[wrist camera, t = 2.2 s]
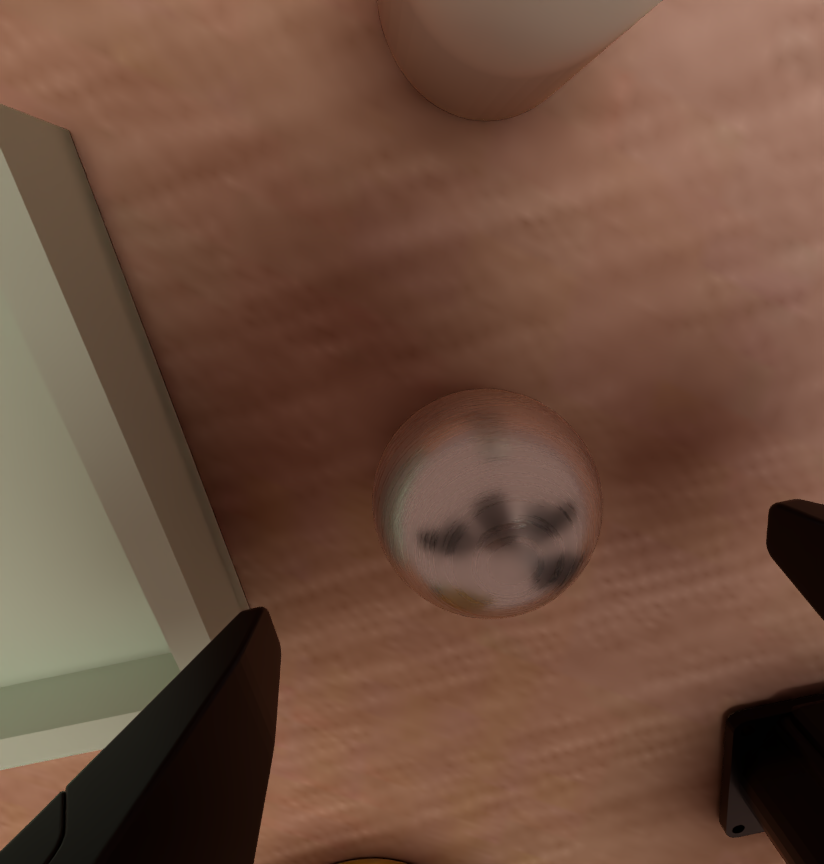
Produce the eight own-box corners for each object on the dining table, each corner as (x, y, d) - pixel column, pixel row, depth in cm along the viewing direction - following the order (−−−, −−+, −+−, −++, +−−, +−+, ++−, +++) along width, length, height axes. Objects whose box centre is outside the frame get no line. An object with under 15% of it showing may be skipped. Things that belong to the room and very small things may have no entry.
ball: (560, 516, 14) (652, 646, 10) (392, 550, 14) (402, 697, 10) (546, 348, 13) (650, 408, 8) (353, 387, 12) (342, 469, 8)
